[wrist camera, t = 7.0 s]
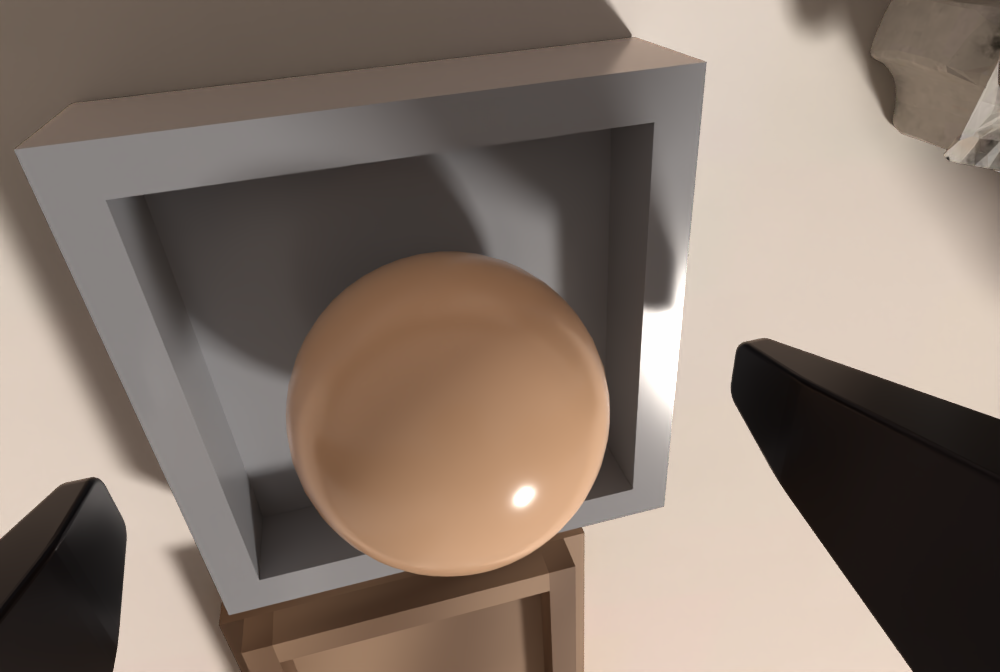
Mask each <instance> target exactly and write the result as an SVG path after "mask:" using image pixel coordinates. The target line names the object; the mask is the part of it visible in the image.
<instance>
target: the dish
mask: <svg viewBox="0 0 1000 672" xmlns="http://www.w3.org/2000/svg"><path fill="white" fill-rule="evenodd" d="M705 72H706V61H703V60H700V59H697V58H694V57H691V56H688V55H685V54H682V53H680V52H677V51H674V50H671V49H668V48H665V47H662V46H659V45H656V44H654V43H651V42H648V41H645V40H642V39H639V38H636V37H631V38H622V39H614V40H605V41H597V42H588V43H580V44H571V45H563V46H554V47H546V48H537V49H529V50H520V51H512V52H503V53H495V54H486V55H478V56H469V57H461V58H452V59H444V60H435V61H427V62H418V63H409V64H401V65H392V66H384V67H375V68H367V69H358V70H350V71H341V72H333V73H324V74H316V75H307V76H299V77H290V78H282V79H273V80H265V81H256V82H248V83H239V84H231V85H222V86H213V87H205V88H196V89H188V90H179V91H171V92H162V93H154V94H145V95H137V96H128V97H120V98H111V99H103V100H94V101H86V102H77V103H71V104H70V105H69V106H68V107H66V108H65V109H64V110H63V111H61V112H60V113H59V114H58V115H56V116H55V117H54V118H53V119H51V120H50V121H49V122H48V123H46V124H45V125H44V126H43V127H41V128H40V129H39V130H38V131H36V132H35V133H34V134H33V135H31V136H30V137H29V138H28V139H26V140H25V141H24V142H23V143H21V144H20V145H19V146H18V147H17V148H15V149H14V151H15V153H16V156H17V158H18V160H19V162H20V164H21V166H22V169H23V171H24V173H25V175H26V177H27V179H28V182H29V184H30V186H31V188H32V190H33V192H34V195H35V197H36V199H37V201H38V203H39V205H40V207H41V210H42V212H43V214H44V216H45V218H46V220H47V223H48V225H49V227H50V229H51V231H52V233H53V236H54V238H55V240H56V242H57V244H58V246H59V249H60V251H61V253H62V255H63V257H64V259H65V262H66V264H67V266H68V268H69V270H70V272H71V275H72V277H73V279H74V281H75V283H76V285H77V288H78V290H79V292H80V294H81V296H82V298H83V301H84V303H85V305H86V307H87V309H88V311H89V314H90V316H91V318H92V320H93V322H94V324H95V326H96V329H97V331H98V333H99V335H100V337H101V339H102V342H103V344H104V346H105V348H106V350H107V352H108V355H109V357H110V359H111V361H112V363H113V365H114V368H115V370H116V372H117V374H118V376H119V378H120V381H121V383H122V385H123V387H124V389H125V391H126V394H127V396H128V398H129V400H130V402H131V404H132V407H133V409H134V411H135V413H136V415H137V417H138V420H139V422H140V424H141V426H142V428H143V430H144V432H145V435H146V437H147V439H148V441H149V443H150V445H151V448H152V450H153V452H154V454H155V456H156V458H157V461H158V463H159V465H160V467H161V469H162V471H163V474H164V476H165V478H166V480H167V482H168V484H169V487H170V489H171V491H172V493H173V495H174V497H175V500H176V502H177V504H178V506H179V508H180V510H181V513H182V515H183V517H184V519H185V521H186V523H187V526H188V528H189V530H190V532H191V534H192V536H193V539H194V541H195V543H196V545H197V547H198V549H199V551H200V554H201V556H202V558H203V560H204V562H205V564H206V567H207V569H208V571H209V573H210V575H211V577H212V580H213V582H214V584H215V586H216V588H217V590H218V593H219V595H220V597H221V599H222V601H223V603H224V606H225V608H226V610H227V612H228V614H229V615H232V614H236V613H240V612H244V611H248V610H252V609H256V608H260V607H264V606H268V605H272V604H276V603H280V602H284V601H288V600H292V599H296V598H300V597H304V596H308V595H312V594H316V593H320V592H324V591H328V590H332V589H336V588H340V587H344V586H348V585H352V584H356V583H360V582H364V581H368V580H372V579H376V578H380V577H384V576H388V575H392V574H396V573H400V572H404V571H403V570H400V569H396V568H393V567H390V566H388V565H385V564H383V563H380V562H378V561H377V560H375V559H373V558H371V557H369V556H368V555H366V554H364V553H362V552H361V551H359V550H357V549H355V548H354V547H353V546H351V545H350V544H349V543H348V542H346V541H345V540H344V539H343V538H342V537H340V536H339V535H338V534H337V533H336V532H335V531H334V530H333V529H332V528H331V527H330V526H329V525H328V524H327V523H326V522H325V520H324V519H323V518H322V517H321V516H320V514H319V513H318V511H317V510H316V508H315V507H314V506H313V504H312V502H311V501H310V499H309V498H308V496H307V495H306V493H305V491H304V489H303V487H302V484H301V482H300V479H299V477H298V475H297V472H296V470H295V467H294V465H293V462H292V457H291V453H290V448H289V443H288V438H287V431H286V401H287V393H288V385H289V381H290V378H291V374H292V371H293V367H294V364H295V361H296V357H297V354H298V352H299V350H300V348H301V346H302V344H303V341H304V339H305V337H306V336H307V334H308V333H309V331H310V330H311V328H312V326H313V325H314V323H315V322H316V320H317V319H318V317H319V316H320V314H321V313H322V312H323V311H324V310H325V309H326V307H327V306H328V305H329V304H330V303H331V302H332V300H333V299H335V298H336V297H337V296H338V295H339V294H340V293H341V292H342V291H343V290H345V289H346V288H347V287H348V286H350V285H351V284H352V283H354V282H355V281H357V280H358V279H360V278H361V277H362V276H364V275H366V274H368V273H370V272H372V271H373V270H375V269H377V268H379V267H381V266H383V265H386V264H388V263H391V262H394V261H396V260H399V259H402V258H406V257H410V256H414V255H418V254H423V253H431V252H439V251H460V252H468V253H476V254H480V255H484V256H488V257H492V258H496V259H500V260H503V261H506V262H508V263H510V264H513V265H515V266H518V267H520V268H522V269H523V270H525V271H527V272H528V273H530V274H532V275H533V276H535V277H537V278H538V279H540V280H542V281H543V282H545V283H546V284H547V285H548V286H549V287H551V288H552V289H553V290H554V291H555V292H557V293H558V294H559V295H560V296H561V297H562V298H563V299H564V300H565V301H566V302H567V303H568V304H569V306H570V307H571V308H572V309H573V310H574V311H575V313H576V314H577V315H578V317H579V318H580V320H581V321H582V323H583V324H584V326H585V327H586V329H587V331H588V332H589V334H590V336H591V337H592V339H593V341H594V344H595V346H596V349H597V351H598V354H599V356H600V359H601V361H602V364H603V366H604V371H605V376H606V381H607V386H608V391H609V401H610V425H609V434H608V441H607V445H606V449H605V453H604V457H603V461H602V465H601V468H600V470H599V473H598V475H597V478H596V480H595V482H594V484H593V486H592V488H591V490H590V491H589V493H588V495H587V497H586V499H585V501H584V502H583V504H582V505H581V506H580V508H579V509H578V511H577V512H576V513H575V514H574V516H573V517H572V518H571V519H570V520H569V521H568V523H567V524H566V525H565V526H564V527H563V528H562V529H561V530H560V531H559V532H558V533H560V532H564V531H568V530H572V529H576V528H580V527H584V526H588V525H592V524H596V523H600V522H604V521H608V520H612V519H616V518H620V517H624V516H628V515H632V514H636V513H640V512H644V511H648V510H652V509H656V508H660V507H664V501H665V491H666V480H667V470H668V460H669V449H670V439H671V428H672V418H673V407H674V397H675V386H676V376H677V365H678V355H679V344H680V334H681V323H682V313H683V303H684V292H685V282H686V271H687V261H688V250H689V240H690V229H691V219H692V208H693V198H694V187H695V177H696V167H697V156H698V146H699V135H700V125H701V114H702V104H703V93H704V83H705Z"/></svg>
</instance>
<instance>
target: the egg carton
mask: <svg viewBox="0 0 1000 672" xmlns="http://www.w3.org/2000/svg"><path fill="white" fill-rule="evenodd" d="M870 52H871V56H872V57H873V58H874V59H875V60H878V61H880V62H882V63H883V64H885V65H886V67H887V68H888V70H889V71H890V73H891V74H892V75H893V78H894V81H895V88H896V103H895V109H894V115H893V119H892V122H893V124H894V126H895V128H896V129H897V130H898V131H899V132H900V133H901V134H904V135H907V136H910V137H913V138H916V139H918V140H921V141H924V142H927V143H930V144H933V145H935V146H938V147H941V148H945V149H947V151H946V152H945V153H944V156H945V157H946V158H947V159H948V160H949V161H951V162H955V163H960V164H966V165H972V166H977V167H983V168H988V169H994V171H996V172H999V173H1000V86H999V84H998V70H999V62H1000V0H892V1H891V2H890V4H889V6H888V8H887V10H886V12H885V14H884V16H883V18H882V21H881V23H880V25H879V28H878V30H877V33H876V35H875V37H874V40H873V43H872V46H871V50H870Z"/></svg>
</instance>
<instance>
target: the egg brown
mask: <svg viewBox="0 0 1000 672" xmlns="http://www.w3.org/2000/svg"><path fill="white" fill-rule="evenodd" d="M609 425H610V401H609V391H608V386H607V381H606V376H605V371H604V366H603V364H602V361H601V359H600V356H599V354H598V351H597V349H596V346H595V344H594V341H593V339H592V337H591V336H590V334H589V332H588V331H587V329H586V327H585V326H584V324H583V323H582V321H581V320H580V318H579V317H578V315H577V314H576V313H575V311H574V310H573V309H572V308H571V307H570V306H569V304H568V303H567V302H566V301H565V300H564V299H563V298H562V297H561V296H560V295H559V294H558V293H557V292H555V291H554V290H553V289H552V288H551V287H549V286H548V285H547V284H546V283H545V282H543V281H542V280H540V279H538V278H537V277H535V276H533V275H532V274H530V273H528V272H527V271H525V270H523V269H522V268H520V267H518V266H515V265H513V264H510V263H508V262H506V261H503V260H500V259H496V258H492V257H488V256H484V255H480V254H476V253H468V252H460V251H439V252H431V253H423V254H418V255H414V256H410V257H406V258H402V259H399V260H396V261H394V262H391V263H388V264H386V265H383V266H381V267H379V268H377V269H375V270H373V271H372V272H370V273H368V274H366V275H364V276H362V277H361V278H360V279H358V280H357V281H355V282H354V283H352V284H351V285H350V286H348V287H347V288H346V289H345V290H343V291H342V292H341V293H340V294H339V295H338V296H337V297H336V298H335V299H333V300H332V302H331V303H330V304H329V305H328V306H327V307H326V309H325V310H324V311H323V312H322V313H321V314H320V316H319V317H318V319H317V320H316V322H315V323H314V325H313V326H312V328H311V330H310V331H309V333H308V334H307V336H306V337H305V339H304V341H303V344H302V346H301V348H300V350H299V352H298V354H297V357H296V361H295V364H294V367H293V371H292V374H291V378H290V381H289V385H288V393H287V401H286V431H287V438H288V443H289V448H290V453H291V457H292V462H293V465H294V467H295V470H296V472H297V475H298V477H299V479H300V482H301V484H302V487H303V489H304V491H305V493H306V495H307V496H308V498H309V499H310V501H311V502H312V504H313V506H314V507H315V508H316V510H317V511H318V513H319V514H320V516H321V517H322V518H323V519H324V520H325V522H326V523H327V524H328V525H329V526H330V527H331V528H332V529H333V530H334V531H335V532H336V533H337V534H338V535H339V536H340V537H342V538H343V539H344V540H345V541H346V542H348V543H349V544H350V545H351V546H353V547H354V548H355V549H357V550H359V551H361V552H362V553H364V554H366V555H368V556H369V557H371V558H373V559H375V560H377V561H378V562H380V563H383V564H385V565H388V566H390V567H393V568H396V569H400V570H403V571H407V572H411V573H415V574H420V575H427V576H446V577H447V576H465V575H473V574H479V573H483V572H487V571H491V570H495V569H497V568H500V567H503V566H506V565H508V564H511V563H513V562H515V561H517V560H519V559H521V558H523V557H525V556H527V555H529V554H530V553H532V552H533V551H535V550H536V549H538V548H539V547H541V546H542V545H544V544H545V543H546V542H547V541H549V540H550V539H551V538H552V537H553V536H555V535H556V534H557V533H558V532H559V531H560V530H561V529H562V528H563V527H564V526H565V525H566V524H567V523H568V521H569V520H570V519H571V518H572V517H573V516H574V514H575V513H576V512H577V511H578V509H579V508H580V506H581V505H582V504H583V502H584V501H585V499H586V497H587V495H588V493H589V491H590V490H591V488H592V486H593V484H594V482H595V480H596V478H597V475H598V473H599V470H600V468H601V465H602V461H603V457H604V453H605V449H606V445H607V441H608V434H609Z"/></svg>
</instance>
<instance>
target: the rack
mask: <svg viewBox="0 0 1000 672" xmlns="http://www.w3.org/2000/svg"><path fill="white" fill-rule="evenodd" d="M219 626H220V628H221V630H222V632H223V634H224V636H225V639H226V641H227V643H228V645H229V647H230V649H231V651H232V653H233V655H234V657H235V659H236V661H237V663H238V666H239V668H240V670H241V672H584V531H583V529H582V527H580V528H576V529H572V530H568V531H564V532H560V533H557V534H556V535H555V536H553V537H552V538H551V539H550V540H549V541H547V542H546V543H545V544H544V545H542V546H541V547H539V548H538V549H536V550H535V551H533V552H532V553H530V554H529V555H527V556H525V557H523V558H521V559H519V560H517V561H515V562H513V563H511V564H508V565H506V566H503V567H500V568H497V569H495V570H491V571H487V572H483V573H479V574H473V575H465V576H447V577H446V576H427V575H420V574H415V573H411V572H407V571H404V572H400V573H396V574H392V575H388V576H384V577H380V578H376V579H372V580H368V581H364V582H360V583H356V584H352V585H348V586H344V587H340V588H336V589H332V590H328V591H324V592H320V593H316V594H312V595H308V596H304V597H300V598H296V599H292V600H288V601H284V602H280V603H276V604H272V605H268V606H264V607H260V608H256V609H252V610H248V611H244V612H240V613H236V614H232V615H229V614H228V612H227V610H226V608H225V606H224V603H223V601H222V604H221V612H220V621H219Z"/></svg>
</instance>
